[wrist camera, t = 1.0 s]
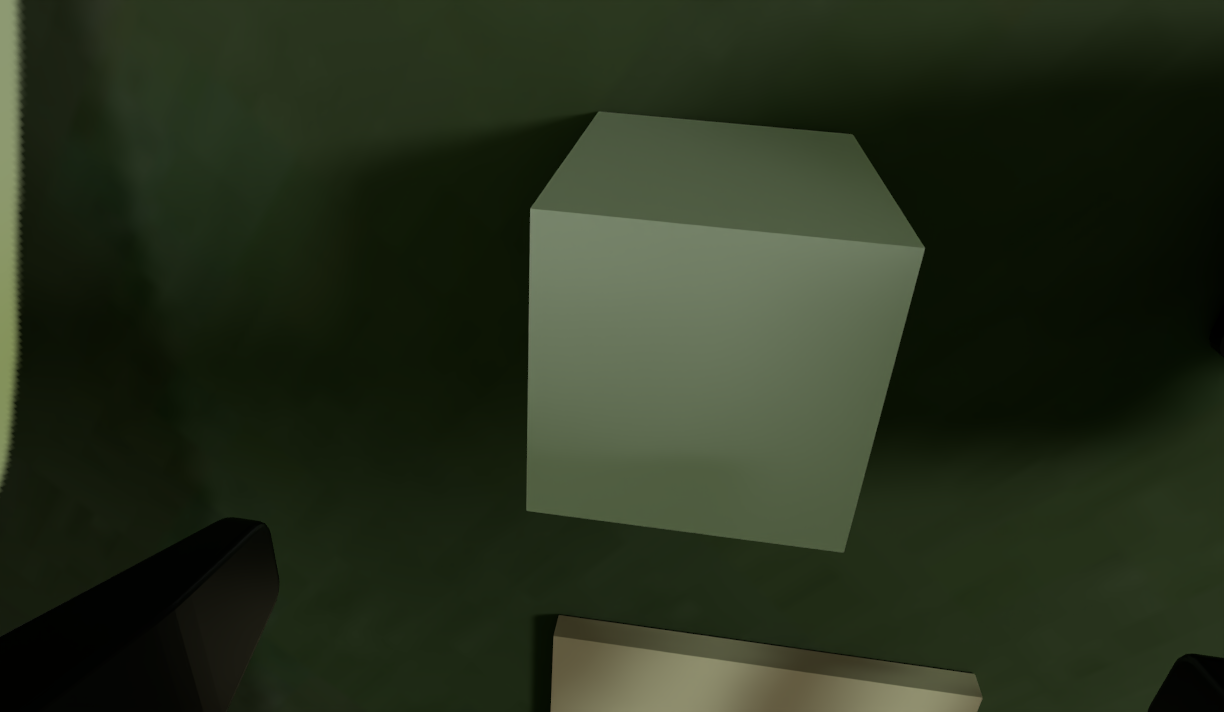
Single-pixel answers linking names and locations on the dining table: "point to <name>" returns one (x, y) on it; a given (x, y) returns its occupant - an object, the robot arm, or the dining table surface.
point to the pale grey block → (712, 328)
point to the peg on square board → (734, 676)
